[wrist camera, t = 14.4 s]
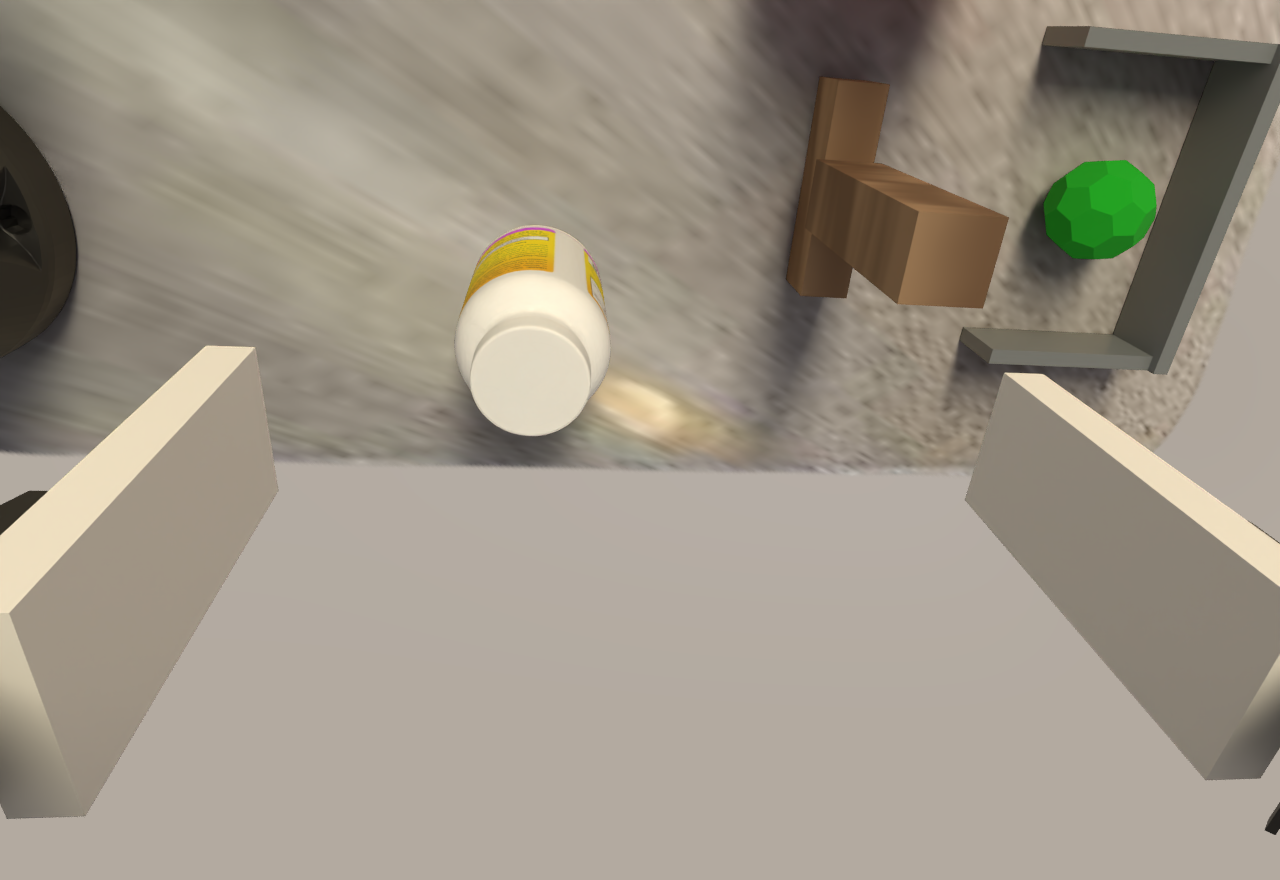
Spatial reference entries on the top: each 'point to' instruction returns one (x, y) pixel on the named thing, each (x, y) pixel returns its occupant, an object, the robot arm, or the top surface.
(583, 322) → the supplement bottle
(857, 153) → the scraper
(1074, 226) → the polyhedron
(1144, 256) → the tray
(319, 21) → the top surface
